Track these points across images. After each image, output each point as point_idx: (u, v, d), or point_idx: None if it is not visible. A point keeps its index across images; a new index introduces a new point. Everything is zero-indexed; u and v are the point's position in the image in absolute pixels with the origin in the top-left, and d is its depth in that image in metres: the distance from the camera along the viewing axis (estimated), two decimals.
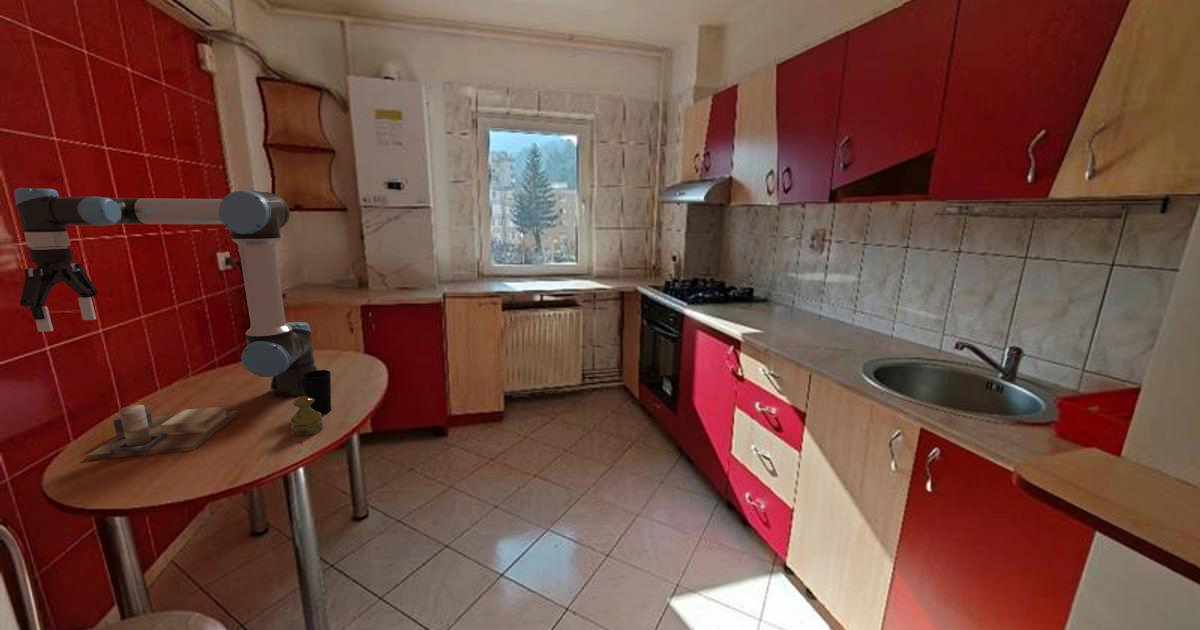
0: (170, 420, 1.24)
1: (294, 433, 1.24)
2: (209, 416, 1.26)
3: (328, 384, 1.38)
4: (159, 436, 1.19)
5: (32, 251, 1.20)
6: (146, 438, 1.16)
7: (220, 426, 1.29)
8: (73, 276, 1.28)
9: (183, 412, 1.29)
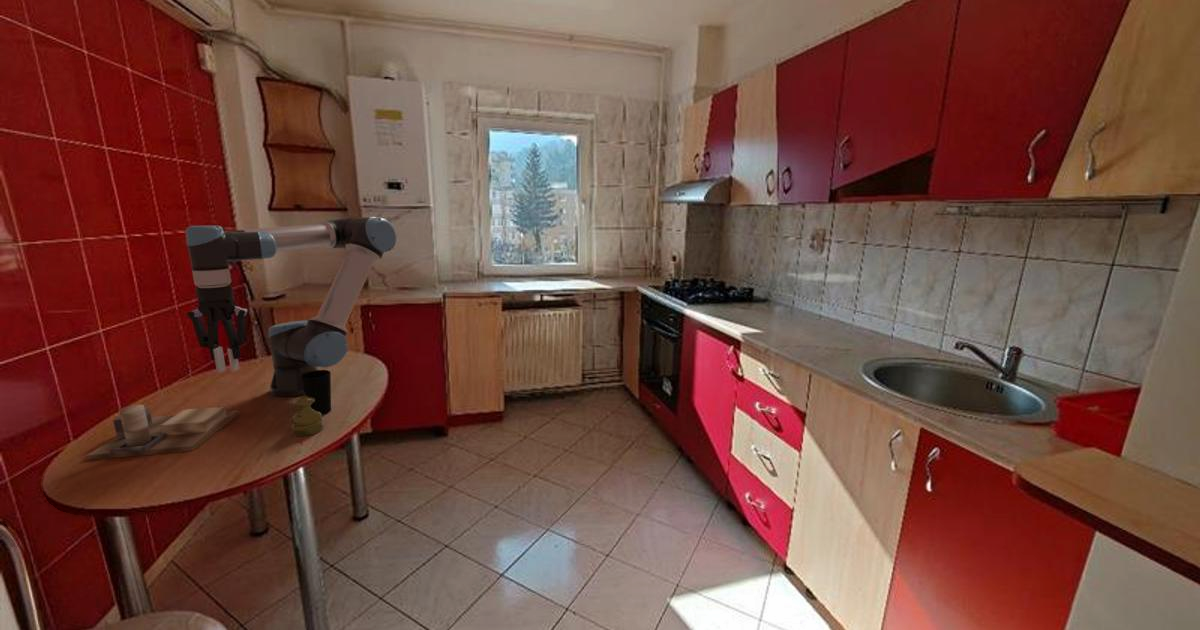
0: (170, 420, 1.24)
1: (294, 433, 1.24)
2: (209, 416, 1.26)
3: (328, 384, 1.38)
4: (159, 436, 1.19)
5: None
6: (146, 438, 1.16)
7: (220, 426, 1.29)
8: (222, 318, 1.22)
9: (183, 412, 1.29)
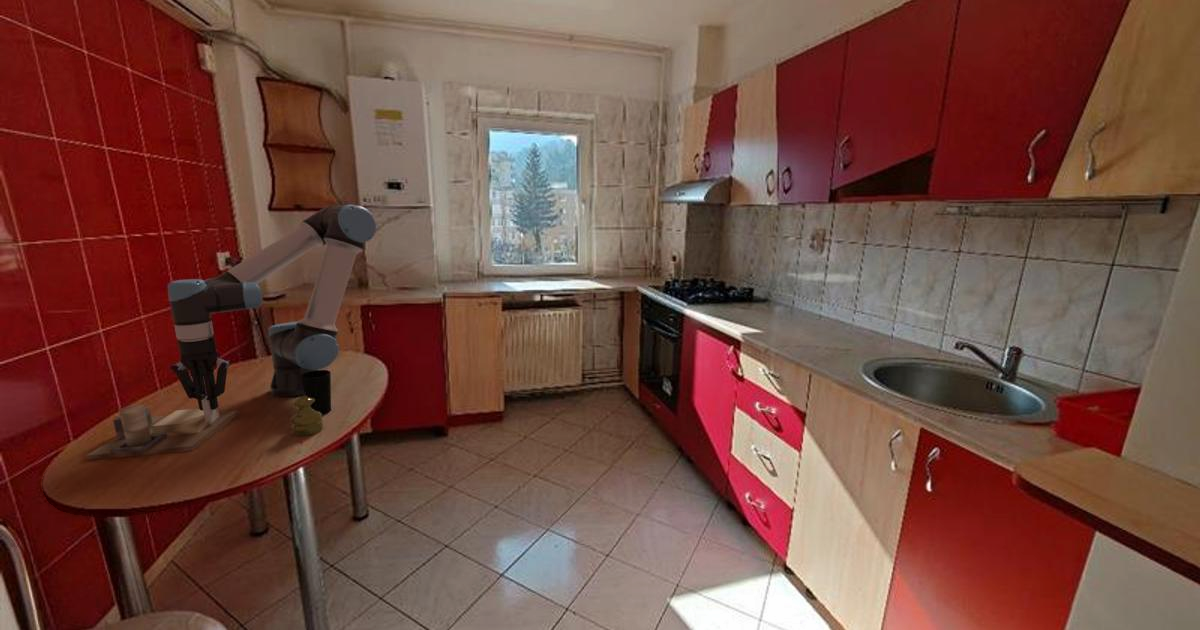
0: (162, 421, 1.23)
1: (294, 433, 1.24)
2: (202, 417, 1.26)
3: (328, 384, 1.38)
4: (159, 436, 1.19)
5: None
6: (146, 438, 1.16)
7: (220, 426, 1.29)
8: (203, 370, 1.24)
9: (175, 413, 1.28)
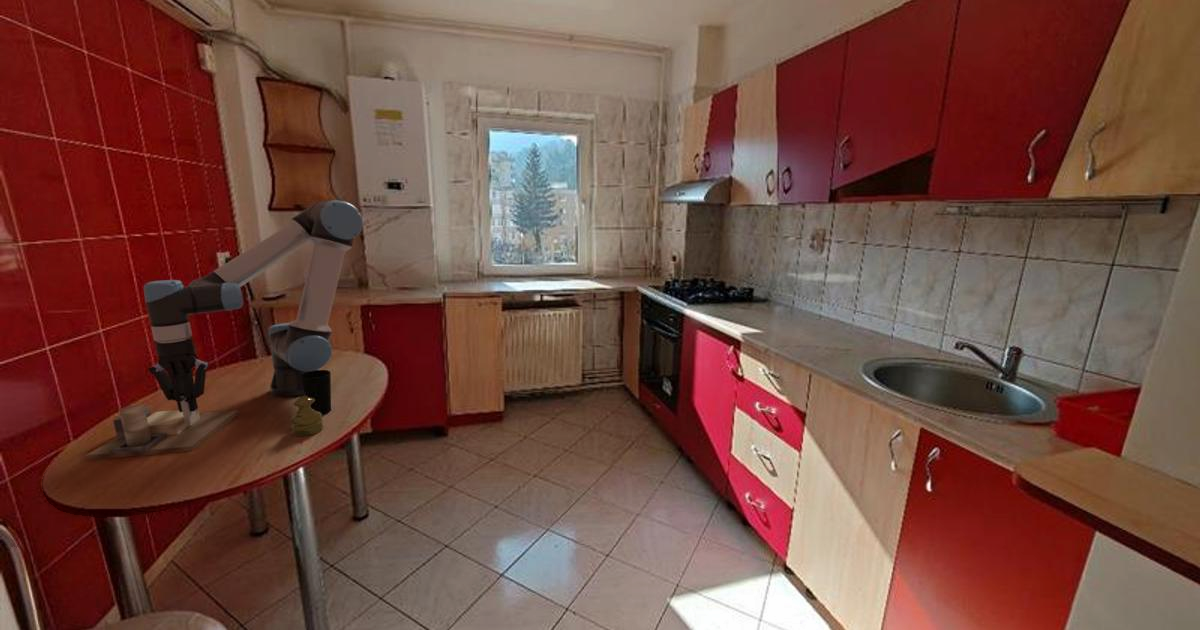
0: None
1: (294, 433, 1.24)
2: (181, 418, 1.25)
3: (328, 384, 1.38)
4: (159, 436, 1.19)
5: None
6: (146, 438, 1.16)
7: (220, 426, 1.29)
8: (181, 371, 1.22)
9: (155, 414, 1.27)
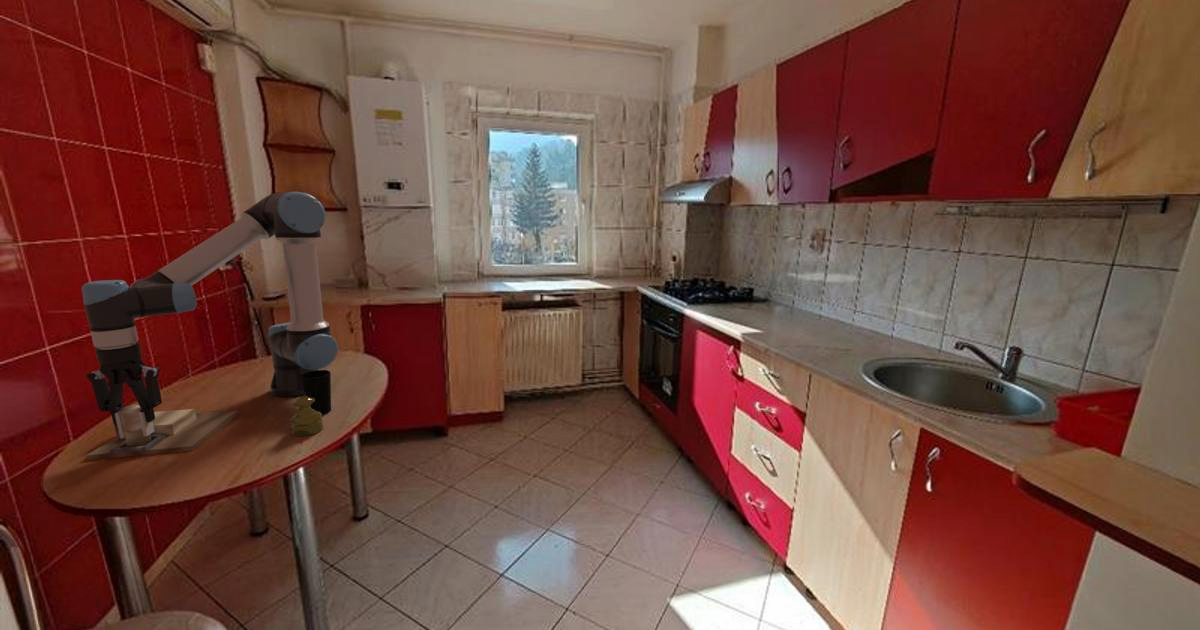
0: None
1: (294, 433, 1.24)
2: (178, 418, 1.25)
3: (328, 384, 1.38)
4: (159, 436, 1.19)
5: None
6: (146, 438, 1.16)
7: (220, 426, 1.29)
8: (128, 380, 1.12)
9: None
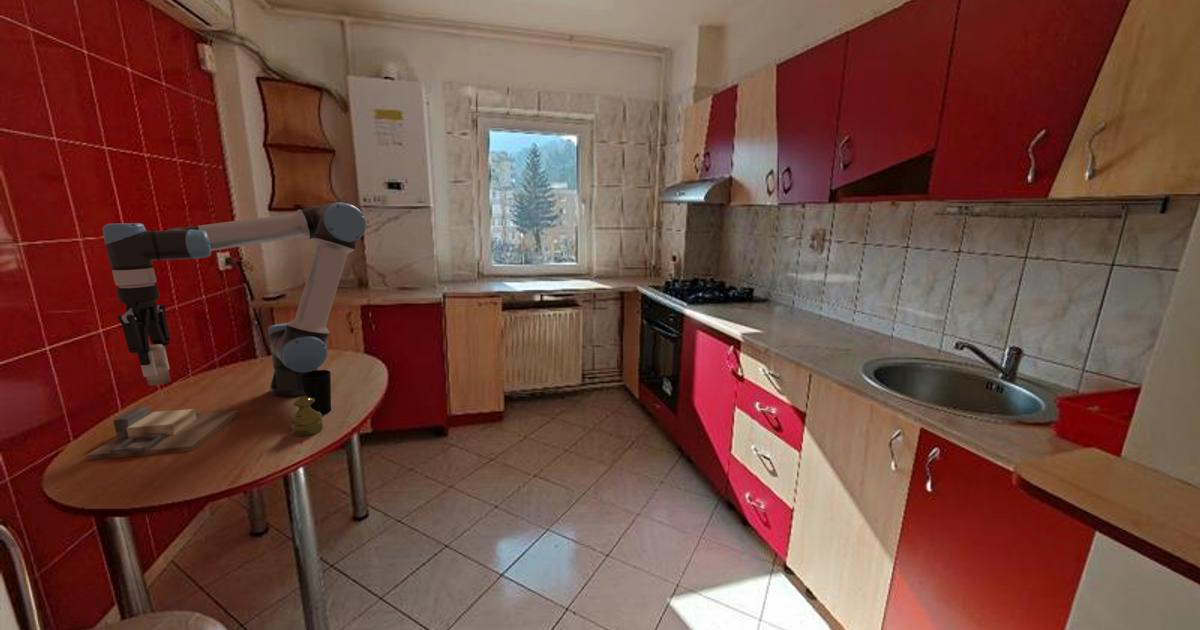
0: (137, 423, 1.22)
1: (294, 433, 1.24)
2: (178, 418, 1.25)
3: (328, 384, 1.38)
4: (159, 436, 1.19)
5: (121, 290, 1.14)
6: None
7: (220, 426, 1.29)
8: (156, 316, 1.21)
9: (151, 414, 1.27)
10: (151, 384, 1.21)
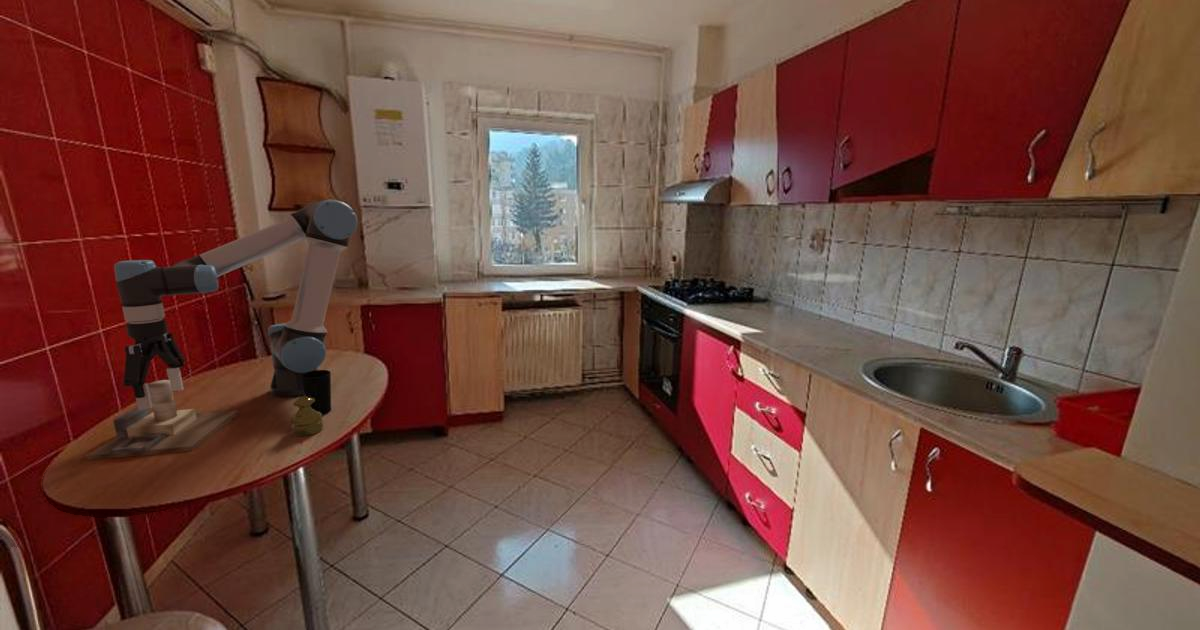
0: (137, 423, 1.22)
1: (294, 433, 1.24)
2: (178, 418, 1.25)
3: (328, 384, 1.38)
4: (159, 436, 1.19)
5: (130, 326, 1.16)
6: None
7: (220, 426, 1.29)
8: (166, 347, 1.24)
9: (151, 414, 1.27)
10: (158, 420, 1.23)
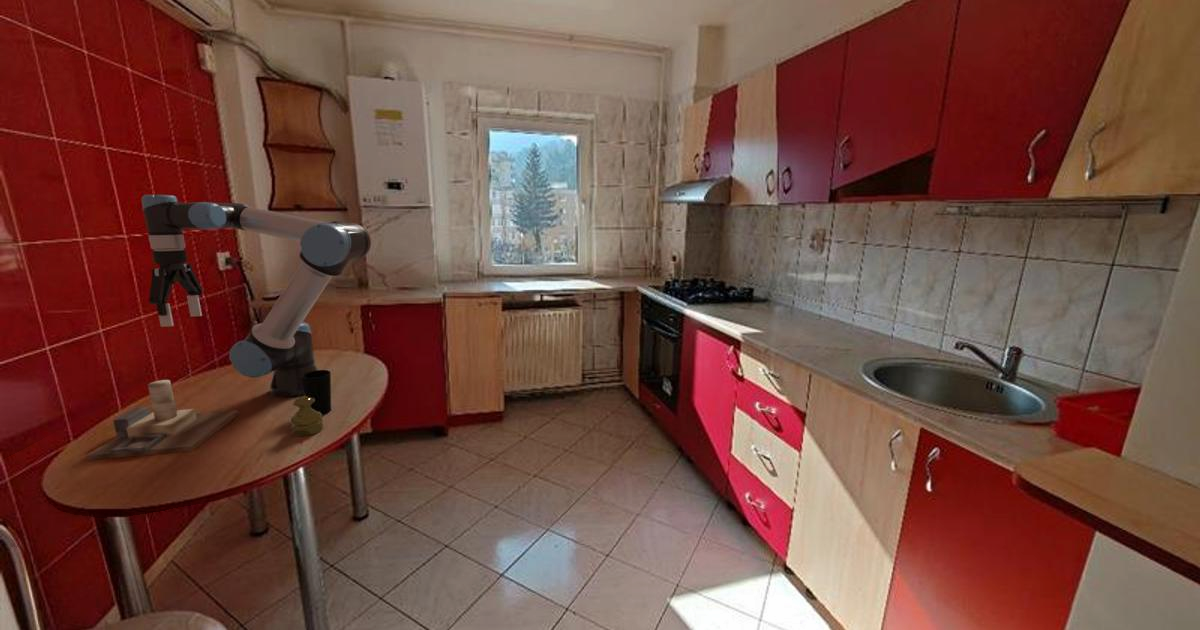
0: (137, 423, 1.22)
1: (294, 433, 1.24)
2: (178, 418, 1.25)
3: (328, 384, 1.38)
4: (159, 436, 1.19)
5: (156, 252, 1.31)
6: None
7: (220, 426, 1.29)
8: (186, 275, 1.39)
9: (151, 414, 1.27)
10: (158, 420, 1.23)
